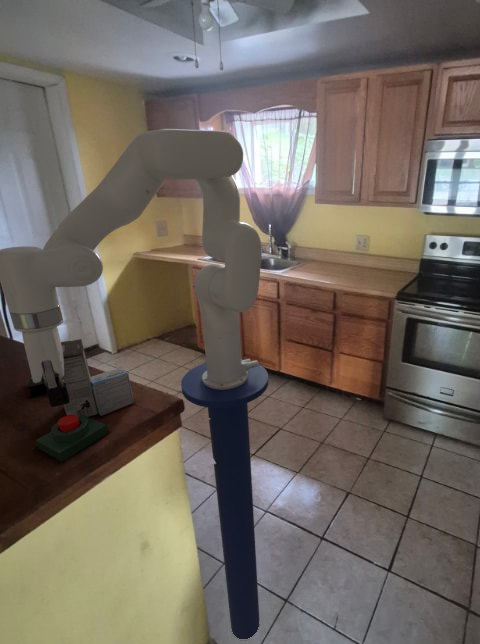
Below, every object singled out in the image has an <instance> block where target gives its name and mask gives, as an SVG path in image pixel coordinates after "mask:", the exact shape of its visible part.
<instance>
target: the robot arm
mask: <svg viewBox="0 0 480 644" xmlns="http://www.w3.org/2000/svg"><path fill="white" fill-rule="evenodd" d="M244 160H245V153H244V149H243V146H242V144H241V141H240V140H239V139H238V138H237V136H235V135H234V134H232V133H231V132H229V131H226V130H221V129H219V130H215V129H214V130H213V129H212V130H211V129H180V128H179V129H178V128H160V129H154V130H148V131H144V132H141V133H139V134H138V135H136V136H135V138H133V139H132V141H131V142H130V143H129V144H128V146H127V147H126V148H125V150H124V151H123V152H122V153H121V155H120V156H119V158H118V159H117V160H116V162H115V163H114V164H113V166H112V167H111V168H110V170H109V171H108V172H107V173H106V175H105V176H104V178H103V179H102V180H101V181H100V182H99V183H98V185H97V186H96V187H95V188H94V189H93V190H92V191H91V192H90V193H89V194H87V196H86V197H85V198H84V199H83V200H82V201H81V202H79V204H77V205H76V206H75V207H74V208H73V209H72V210H71V211H70V212H69V214H68V215H67V216H65V218H64V219H63V220H62V222H60V224H59V225H58V226H57V228H55V231H54V232H53V233H52V234H51V236H50V237H49V239H48V240H47V241H46V243H45V244H44V246H43V248H41V247H38V246H30V245H29V246H28V245H27V246H25V245H24V246H11V247H5V248H1V249H0V285H1V289H2V293H3V296H4V300H5V302H6V305H7V309H8V312H9V317H10V319H11V323H12V326H13V329H14V330H15V331H16V332H20V333H21V336H22V343H23V346H24V350H25V355H26V358H27V363H28V366H29V370H30V374H31V375H32V380H33V382H34V383H38V382H41V378H42V375H43V378H44V382H45V385H46V388H47V389H46V391H47V397H48V401H49V405H50V407H51V408H55V407H60V406H64V404H68V403H69V402H70V401H69V394H68V391H67V387H66V383H63V382H64V379H63V376H64V358H63V351H62V345H61V342H62V341H61V338H60V333H59V328H58V327H59V326H61V325H62V324H63V323H64V318H63V317H64V316H63V313H62V309H61V305H60V301H59V296H58V291H57V288H78V287H80V288H81V287H86V286H89V285H92V284H94V283H96V282H97V281H98V280H99V279H100V278H101V276H102V274H103V271H104V265H103V260H102V258H101V257H100V256H99V255H98V253H97V252H96V251H95V250H96V248H97V247H98V245H100V243H101V242H102V241H103V240H104V239H105V238H106V237H107V236H109V235H110V234H111V233H112V232H114V231H115V230H118V229H120V228H122V227H124V226H127V225H129V224H131V223H133V222H134V221H136V220H137V219H139V218H140V216H142V215H143V213H144V211H145V210H146V208H147V207H148V205H149V204H150V203H151V201H152V200H153V199H154V198H155V196H156V194H157V193H158V192H159V190H160V189H161V188H162V186H163V185H164V184H165V182H166V181H167V180H195V181H196V182H197V184H198V185H199V188H200V191H201V194H202V208H203V209H202V227H201V228H202V229H201V230H202V231H201V245H202V249H203V252H204V253H205V254H206V255H207V256H208V257H210V258H211V259H214V260H217V261H220V262H224V265H222V264H208V265H205V266H203V267H202V268H201V269H199V270H198V272H197V274H196V276H195V278H194V279H195V280H194V290H195V295H196V298H197V303H198V305H199V311H200V316H201V323H202V333H203V334H202V335H203V343H204V344H203V345H204V353H205V363H206V365H207V371H205V372H204V374H203V375H202V382H203V384H204V385H205V386H207V387H209V388H212V389H217V390H226V389H232V388H236V387H238V386H241V385H242V384H244V383H245V382H246V381H247V379H248V371H247V370H249V369H250V368H255V367H258V366H259V365H260V364H259V360H257V359H256V360H252V361H251V359H250V358H246V359H243V361H242V341H241V323H240V322H241V321H240V314H239V313H243V312H247V311H248V310H250V309H251V308H252V307H253V306H254V304H255V303H256V300H257V298H258V294H259V288H260V279H261V278H260V277H261V268H262V267H261V266H262V256H263V255H262V253H263V247H262V246H263V245H262V240H261V237H260V234H259V233H258V231H257V230H256V229H255V227H253V225H251V224H248V223H246V222H241V195H240V190H239V187H238V184H237V181H236V180H235V178H234V175H236V174H237V173H238V172H239V171H240V170H241V169H242V167H243V163H244Z"/></svg>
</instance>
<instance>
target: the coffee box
mask: <svg viewBox="0 0 480 644" xmlns="http://www.w3.org/2000/svg"><path fill="white" fill-rule="evenodd" d="M61 345H62V351H63V358H64V376H63V379H64V382H63V383H66V387H67V391H68V394H69V401H70V402H69V403H68V404H64V405H63V408H64V412H65V414H66V415H65V416H68V415H77V416H81V415H84V416H86V417H88V418H90V417H92V416H97V415H99V413H98V409H97V406H96V402H95V398H94V394H93V390H92V386H91V377H92V376H91V375H92V374H91V372H90V368H89V367H90V366H89V364H88V359H87V355H86V352H85V347H84V345H83V340H82V338H80V339H73V340H64V341H61Z"/></svg>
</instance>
